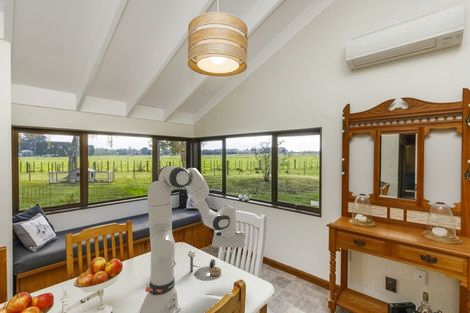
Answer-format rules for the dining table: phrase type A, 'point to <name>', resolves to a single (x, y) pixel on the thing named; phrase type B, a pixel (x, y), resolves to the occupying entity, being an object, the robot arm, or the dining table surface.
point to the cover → (215, 272)
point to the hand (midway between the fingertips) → (228, 253)
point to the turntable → (205, 272)
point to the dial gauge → (191, 260)
